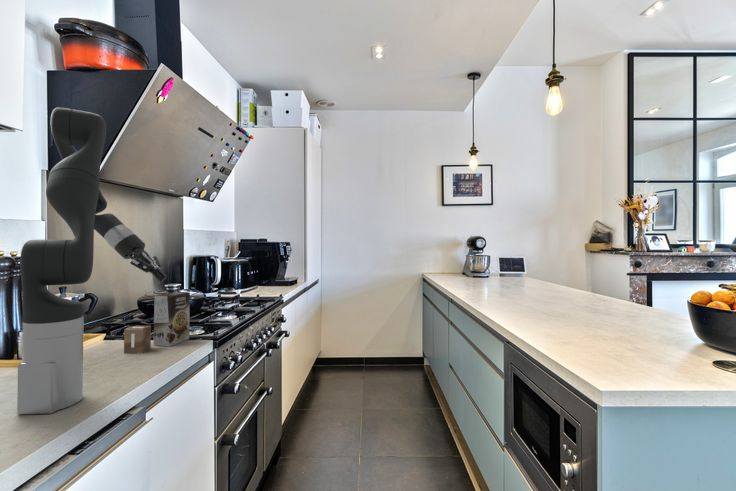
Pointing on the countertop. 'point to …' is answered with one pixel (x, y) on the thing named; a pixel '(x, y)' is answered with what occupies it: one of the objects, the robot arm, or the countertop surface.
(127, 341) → the numbered block
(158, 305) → the coffee box
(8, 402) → the countertop surface
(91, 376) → the countertop surface
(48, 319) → the robot arm
